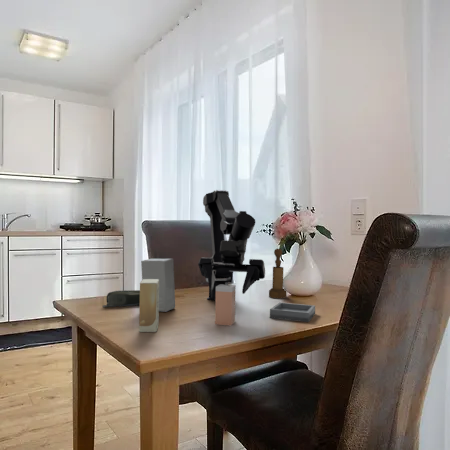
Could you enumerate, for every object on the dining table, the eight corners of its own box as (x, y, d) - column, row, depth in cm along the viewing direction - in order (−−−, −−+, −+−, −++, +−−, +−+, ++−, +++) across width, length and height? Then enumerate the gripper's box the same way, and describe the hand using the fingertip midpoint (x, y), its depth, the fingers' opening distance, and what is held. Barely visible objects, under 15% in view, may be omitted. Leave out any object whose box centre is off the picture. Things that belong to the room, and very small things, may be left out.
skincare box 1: (175, 308, 121) (176, 258, 121) (164, 313, 114) (165, 260, 114) (151, 306, 124) (152, 257, 124) (140, 310, 117) (140, 258, 117)
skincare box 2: (141, 325, 100) (142, 278, 100) (158, 325, 100) (159, 278, 100) (138, 332, 93) (139, 282, 93) (156, 332, 94) (157, 282, 94)
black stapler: (147, 289, 130) (102, 290, 123) (150, 290, 127) (103, 292, 120) (147, 303, 130) (101, 306, 123) (149, 305, 127) (103, 308, 120)
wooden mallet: (285, 298, 140) (286, 249, 140) (268, 298, 141) (268, 248, 141) (286, 295, 146) (287, 248, 146) (269, 294, 147) (270, 248, 147)
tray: (269, 318, 110) (270, 309, 110) (279, 310, 120) (279, 302, 120) (308, 322, 106) (308, 313, 106) (315, 313, 116) (315, 305, 116)
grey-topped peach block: (215, 324, 102) (215, 286, 102) (219, 320, 107) (220, 284, 107) (231, 325, 101) (231, 287, 101) (235, 321, 106) (235, 285, 106)
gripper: (200, 230, 112) (187, 271, 101) (264, 230, 107) (257, 274, 97) (208, 255, 120) (196, 296, 109) (267, 257, 115) (261, 300, 104)
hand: (226, 292), depth 104 cm, fingers open, 9 cm apart
